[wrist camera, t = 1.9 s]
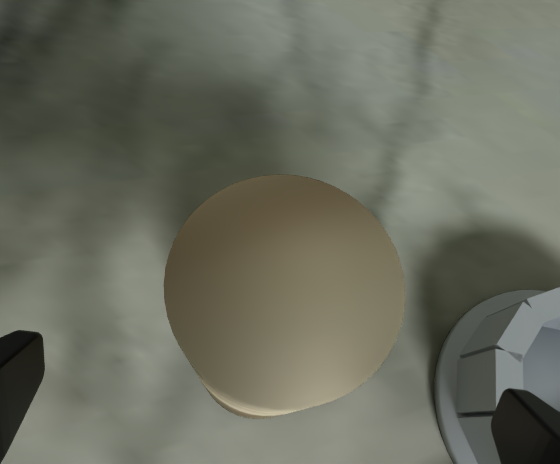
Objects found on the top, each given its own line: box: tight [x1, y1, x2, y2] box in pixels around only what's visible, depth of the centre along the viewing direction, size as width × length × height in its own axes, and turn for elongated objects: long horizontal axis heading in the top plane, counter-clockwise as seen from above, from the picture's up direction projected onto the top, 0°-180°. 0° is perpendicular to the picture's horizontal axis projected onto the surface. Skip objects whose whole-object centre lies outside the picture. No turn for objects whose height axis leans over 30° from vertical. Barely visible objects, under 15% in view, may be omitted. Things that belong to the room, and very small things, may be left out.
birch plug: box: [164, 174, 405, 419], centre depth 14 cm, size 5×5×10 cm
